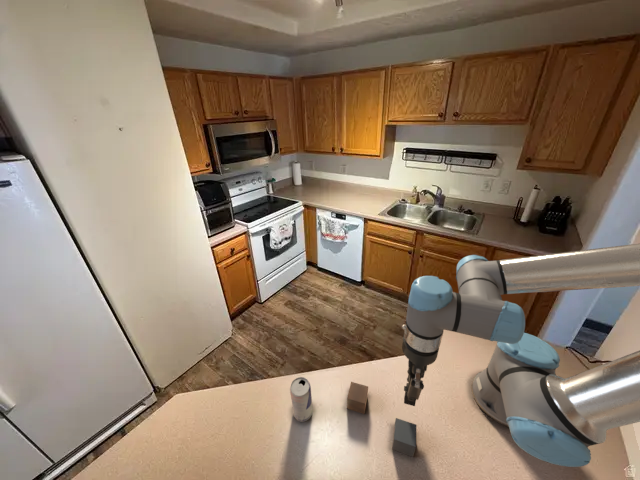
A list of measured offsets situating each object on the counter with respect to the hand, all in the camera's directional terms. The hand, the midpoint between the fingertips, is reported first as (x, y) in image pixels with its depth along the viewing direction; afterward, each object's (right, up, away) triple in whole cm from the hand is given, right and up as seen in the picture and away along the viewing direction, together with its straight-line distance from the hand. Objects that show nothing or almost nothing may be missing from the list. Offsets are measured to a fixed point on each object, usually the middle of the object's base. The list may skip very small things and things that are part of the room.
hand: (409, 401), depth 68 cm
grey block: (-3, -8, -3) cm, 9 cm away
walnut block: (-13, -4, +6) cm, 15 cm away
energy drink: (-28, -6, +4) cm, 29 cm away
